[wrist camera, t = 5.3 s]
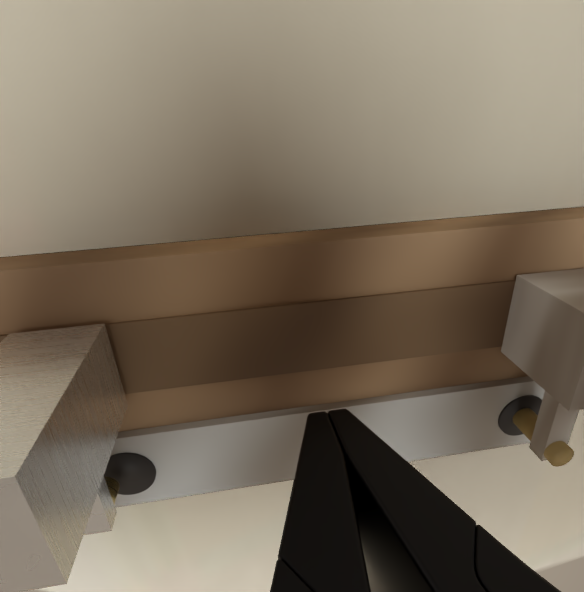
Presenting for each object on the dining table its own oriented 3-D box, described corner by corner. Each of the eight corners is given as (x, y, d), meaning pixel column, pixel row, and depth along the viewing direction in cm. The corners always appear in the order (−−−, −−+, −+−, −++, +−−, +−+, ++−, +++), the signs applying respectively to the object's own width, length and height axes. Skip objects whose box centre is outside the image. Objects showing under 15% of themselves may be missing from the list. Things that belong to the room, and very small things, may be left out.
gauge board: (590, 206, 13) (740, 245, 9) (532, 417, 17) (622, 507, 13) (-69, 263, 11) (-232, 346, 7) (36, 491, 15) (-32, 624, 11)
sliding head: (104, 323, 11) (14, 476, 6) (149, 481, 13) (108, 670, 9) (9, 333, 10) (-157, 501, 6) (73, 492, 13) (-9, 693, 8)
